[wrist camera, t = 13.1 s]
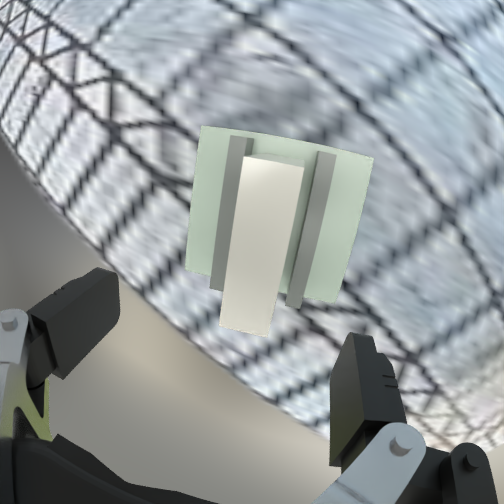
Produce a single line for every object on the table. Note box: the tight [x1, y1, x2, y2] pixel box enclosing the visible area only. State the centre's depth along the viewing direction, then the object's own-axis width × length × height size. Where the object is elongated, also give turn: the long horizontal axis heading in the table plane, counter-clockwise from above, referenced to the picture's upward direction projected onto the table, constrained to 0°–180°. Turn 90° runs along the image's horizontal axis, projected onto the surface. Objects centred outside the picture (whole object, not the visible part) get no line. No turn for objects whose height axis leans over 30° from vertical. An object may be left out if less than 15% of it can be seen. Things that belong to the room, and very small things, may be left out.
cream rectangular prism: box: [219, 153, 304, 338], centre depth 20 cm, size 3×10×9 cm, turn 171°
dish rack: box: [185, 126, 374, 309], centre depth 23 cm, size 14×13×4 cm
